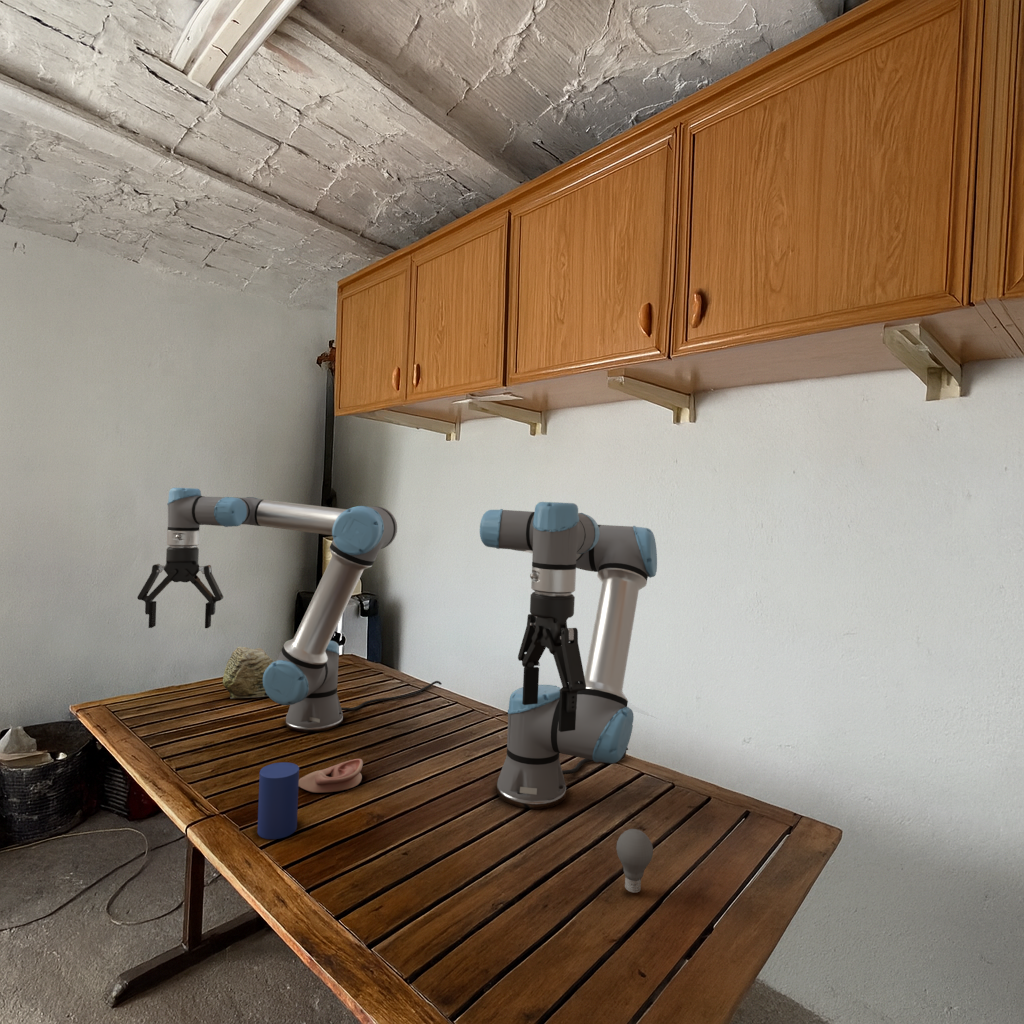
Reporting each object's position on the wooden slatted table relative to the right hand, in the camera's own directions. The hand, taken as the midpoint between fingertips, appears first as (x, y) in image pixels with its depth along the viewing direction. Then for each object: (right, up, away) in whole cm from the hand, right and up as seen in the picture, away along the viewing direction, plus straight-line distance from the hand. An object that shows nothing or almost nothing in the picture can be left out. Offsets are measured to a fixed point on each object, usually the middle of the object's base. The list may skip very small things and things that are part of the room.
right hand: (547, 716), depth 108 cm
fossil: (-87, -22, +90) cm, 127 cm away
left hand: (-93, +5, +58) cm, 110 cm away
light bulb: (+14, -28, -3) cm, 32 cm away
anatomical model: (-46, -25, +32) cm, 62 cm away
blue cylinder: (-51, -25, +12) cm, 58 cm away
